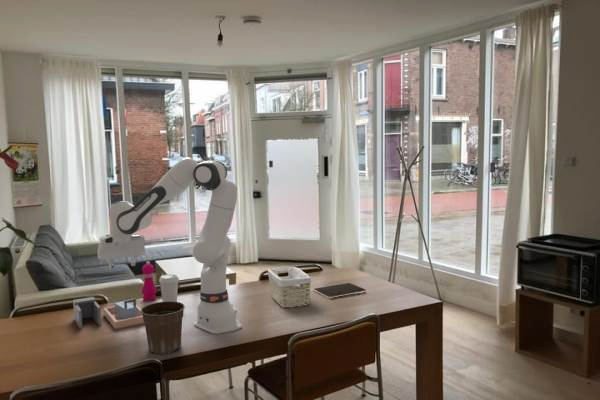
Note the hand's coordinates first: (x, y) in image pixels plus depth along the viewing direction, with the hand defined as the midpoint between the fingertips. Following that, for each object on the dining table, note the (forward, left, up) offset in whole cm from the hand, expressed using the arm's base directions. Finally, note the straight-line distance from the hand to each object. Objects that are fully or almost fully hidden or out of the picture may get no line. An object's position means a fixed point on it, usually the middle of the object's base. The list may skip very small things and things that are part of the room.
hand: (122, 267), depth 218 cm
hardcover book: (-24, -106, -25) cm, 112 cm away
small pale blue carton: (-1, 0, -23) cm, 23 cm away
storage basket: (-21, -75, -24) cm, 82 cm away
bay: (+5, +15, -24) cm, 29 cm away
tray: (-1, 0, -24) cm, 24 cm away
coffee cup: (+6, -23, -24) cm, 34 cm away
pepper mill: (+23, -18, -24) cm, 38 cm away
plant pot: (-43, -4, -24) cm, 50 cm away
